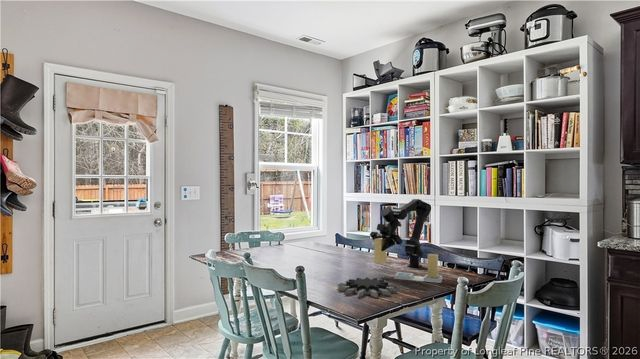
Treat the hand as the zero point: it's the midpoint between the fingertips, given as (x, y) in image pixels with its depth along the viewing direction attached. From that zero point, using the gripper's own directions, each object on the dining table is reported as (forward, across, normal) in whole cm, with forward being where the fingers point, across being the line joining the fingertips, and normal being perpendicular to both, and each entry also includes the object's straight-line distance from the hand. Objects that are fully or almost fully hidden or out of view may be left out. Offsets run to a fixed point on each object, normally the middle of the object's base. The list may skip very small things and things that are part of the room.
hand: (378, 250), depth 209 cm
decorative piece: (+28, +14, -9) cm, 33 cm away
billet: (+4, 0, +6) cm, 7 cm away
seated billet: (+2, +27, +16) cm, 31 cm away
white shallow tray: (+5, +20, +14) cm, 25 cm away
